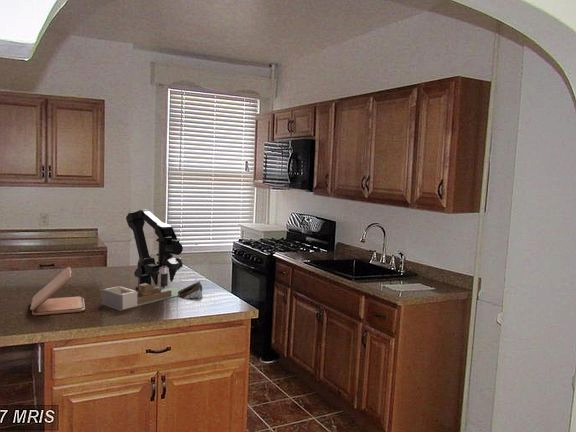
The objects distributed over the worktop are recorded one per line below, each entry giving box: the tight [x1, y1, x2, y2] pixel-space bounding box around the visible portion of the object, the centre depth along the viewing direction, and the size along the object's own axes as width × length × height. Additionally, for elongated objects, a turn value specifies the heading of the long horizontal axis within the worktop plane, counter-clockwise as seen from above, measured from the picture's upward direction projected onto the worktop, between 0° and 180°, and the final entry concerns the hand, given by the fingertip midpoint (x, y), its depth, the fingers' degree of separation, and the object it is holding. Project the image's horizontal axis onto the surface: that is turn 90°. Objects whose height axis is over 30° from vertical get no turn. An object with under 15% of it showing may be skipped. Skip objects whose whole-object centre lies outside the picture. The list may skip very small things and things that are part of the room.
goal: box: [101, 285, 138, 311], centre depth 219 cm, size 13×9×6 cm
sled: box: [138, 272, 169, 298], centre depth 234 cm, size 5×15×10 cm, turn 144°
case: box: [29, 266, 86, 316], centre depth 212 cm, size 20×21×16 cm
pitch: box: [102, 287, 181, 312], centre depth 232 cm, size 13×40×3 cm, turn 144°
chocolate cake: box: [178, 280, 203, 300], centre depth 237 cm, size 10×7×12 cm
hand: (163, 283), depth 239 cm, fingers open, 9 cm apart
